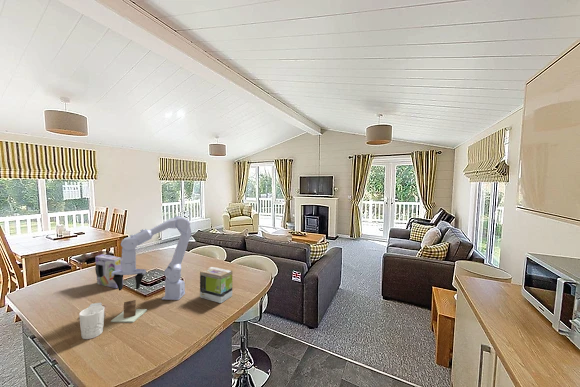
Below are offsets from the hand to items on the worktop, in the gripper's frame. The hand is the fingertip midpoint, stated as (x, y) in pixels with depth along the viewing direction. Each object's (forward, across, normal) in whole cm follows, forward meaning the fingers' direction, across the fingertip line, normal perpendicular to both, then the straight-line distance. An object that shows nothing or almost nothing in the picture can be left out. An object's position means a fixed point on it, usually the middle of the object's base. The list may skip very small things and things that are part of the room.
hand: (129, 289), depth 116 cm
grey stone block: (+10, +14, +2) cm, 17 cm away
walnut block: (+9, -3, +7) cm, 12 cm away
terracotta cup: (+10, +10, +6) cm, 15 cm away
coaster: (+10, -3, +7) cm, 13 cm away
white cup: (+10, +6, +19) cm, 22 cm away
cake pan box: (+10, +24, -31) cm, 41 cm away
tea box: (+10, -41, -6) cm, 42 cm away
